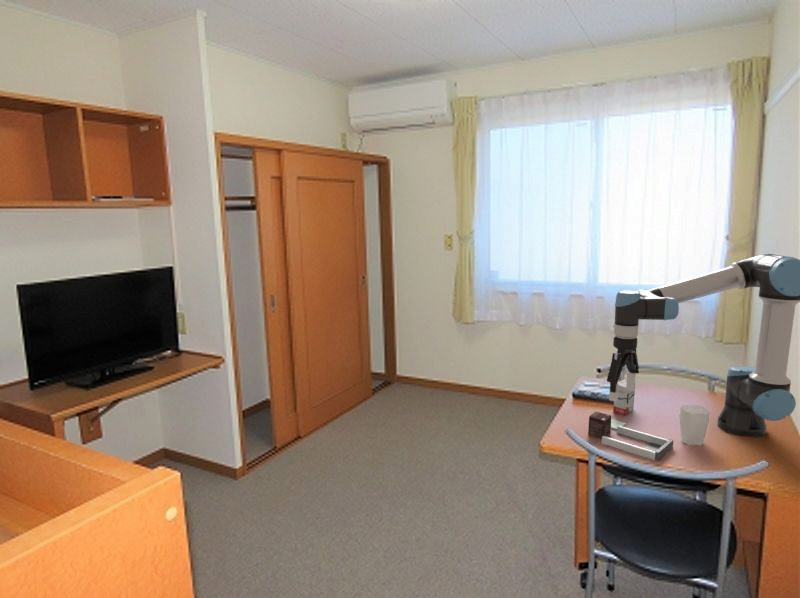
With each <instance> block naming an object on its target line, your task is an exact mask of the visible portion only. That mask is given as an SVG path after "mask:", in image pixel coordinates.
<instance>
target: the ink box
mask: <svg viewBox="0 0 800 598" xmlns="http://www.w3.org/2000/svg"><path fill="white" fill-rule="evenodd" d="M618 383H619V390H618V402H615V401H613V411H612V412H613V413H615V414H618V415H622V416H627V414H629V413H631V412H633V410H634V407H635V406H634V405H635V394H636V393H635V392H636V390H635V391H634V392H633V391H629V390H626V383H627V379H622V380H620V381H618Z"/></svg>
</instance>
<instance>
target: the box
mask: <svg viewBox="0 0 800 598" xmlns="http://www.w3.org/2000/svg"><path fill="white" fill-rule="evenodd" d="M611 419H612V415H611V414H607V413H602V412H600V411H599V412H598V411H594V412H593V413H591V414H590V415H589V417H588V428H587V429H588V430H587V431H588V433H587V435H588V436H590V437H593V438H598V439H601V440H602V436H606V437H609V436H610V435H611V433H612V432H611V431H612V429H611Z"/></svg>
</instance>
